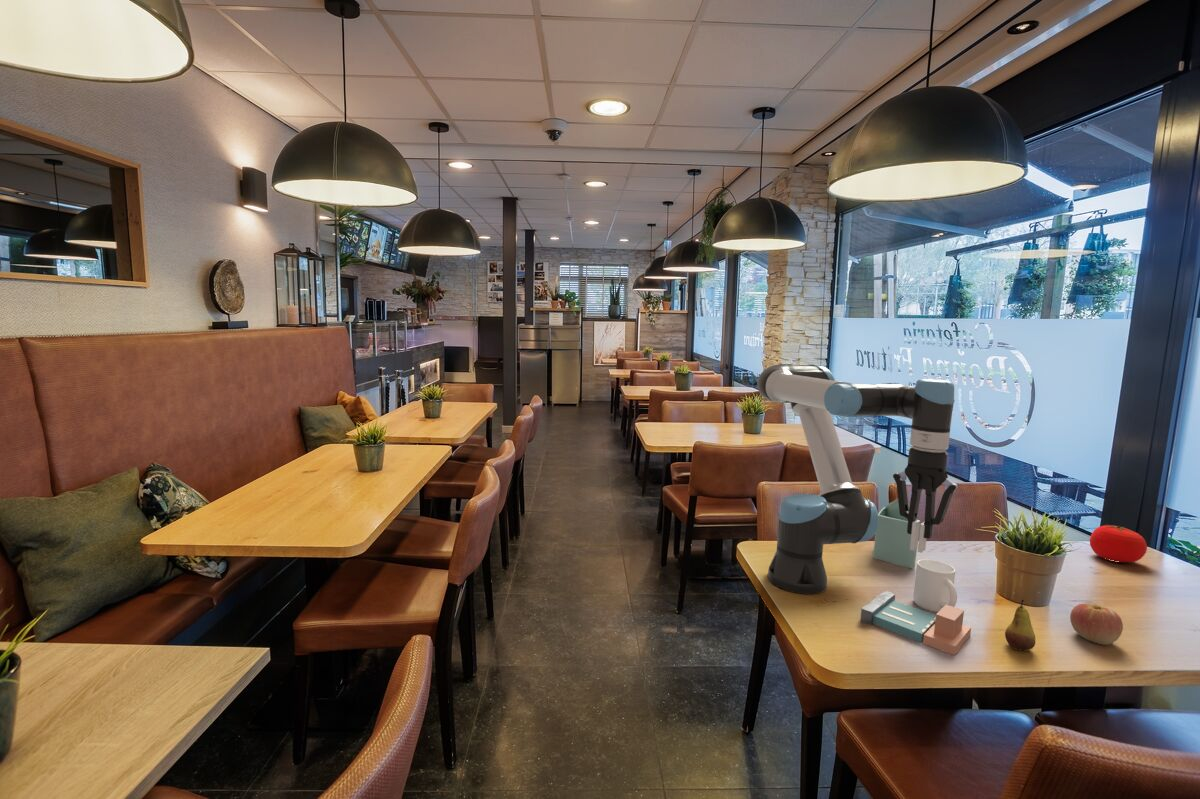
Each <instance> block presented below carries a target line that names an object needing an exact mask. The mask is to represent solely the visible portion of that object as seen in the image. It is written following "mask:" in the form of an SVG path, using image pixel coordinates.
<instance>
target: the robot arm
mask: <svg viewBox="0 0 1200 799" xmlns="http://www.w3.org/2000/svg"><path fill="white" fill-rule="evenodd" d="M756 383H757V389H758V393H759V394H760V396H761V397H762V398H763V399H764V400H767V401H769V402H773V403H779V404H781V403H782V404H784V403H785V404H790V407H791V410H792V413H793V414H795V415H798V416H799V418H800V422H801V425H802V426H801V427H802V429H803V430H802V431H803V433H804V437H805V440H806V443H807V446H808V450H809V455H810V457H811V461H812V465H813V468H814V473H815V475H816V478H817V482H818V486H819V489H820V492H819V493H818V494H813V493H805V492H804V493H795V494H790V495H788V496H785V497H784V498H783V499H782V501H781V502H780V505H779V511H778V527H777V536H776V537H777V539H776V550H775V552H774V554H773V558H772V560H771V562H770V564H769V566H768V570H767V579H768V581H769V582H770V583H771V584H773V585H774V586H776V587H777V588H779V589H781V590H784V591H787V592H791V593H795V594H801V595H802V594H804V595H813V594H820V593H822V592H825V591H826V589H827V587H828V576H827V572H826V568H825V564H824V560H823V552H824V551H823V550H824V545H837V544H858V543H862V542H864V543H865V542H867V541H870V540H871V539H872V538H873V537H875V533H876V529H877V528H878V523H879V517H878V513H879V511H878V509H877V506H876V505H875V503H874V502H873V501H871V500H870V499H868V498H866V497H863V493H862V490H861V488H859V487H858V486H856V485H855V484H854V483H853V480H852V478H851V475H850V471H849V468H848V465H847V461H846V459H845V455H844V452H843V449H842V447H841V442H840V440H839V437H838V433H837V430H836V427H835V423H834V420H833V417H832V415H833V416H839V417H853V416H854V417H856V416H857V417H859V416H861V417H863V416H864V417H866V416H870V417H872V416H873V417H874V416H875V417H893V416H894V417H900V418H901V417H902V418H907V419H911V420H912V421H911V428H910V436H909V437H910V439H909V445H910V446H911V447H909V449H908V456H907V457H908V458H907V465H906V467H905V468H904V471H900V472H896V473H893V475H892V477H893V479H894V482H895V483H896V489H897V490H896V493H897V498H898V503H899V512H900V515H901V516H904V517H906V518H907V519H908V526H907V533H908V534H911V542H910V550H915V549H916V548H917V553H923V552H924V551H926V548H927V547H926V546H927V540H929V539H931V537H933V536H932V535H933V529H934V528H933V526H934V525H937V526H939V525H940V524H942V523H943V522H944V520H945V517H946V514H947V512H948V508H949V506H950V503H951V500H952V498H953V494H954V493H955V492H956V491H957V489H958V488H960V485H959V484H958V483H956V482H953V481H952V480H951V479H949V478H948V477H949V476H948V473H947V463H948V452H947V450H948V449H949V446H950V437H951V426H952V425H951V424H952V417H953V410H954V404H955V383H953V382H952V381H950V380H940V379H929V378H927V379H926V378H925V379H924V378H923V379H922V378H921V379H918V380H916V383H915V386H912V385H909V384H908V385H907V384H900V383H899V382H898V383H896V382H883V383H869V384H868V383H854V382H844V381H838V380H836V378H835V377H834V375H833V372H831V371H830V369H828V368H827V367H825V366H823V365H817V364H812V363H811V364H783V363H782V364H773V365H771V366H768V367H767V368H765V369H763V370H762V372H761V373H760V374H759V375H758V379H757V382H756ZM907 479H908V481H909V482H910V484H911V494H910V501H909V500H908V490H907V483H906V480H907ZM943 484H944V486H943V489H944V492H943V494H942V495H941V496H942V497H941V500H940V501H939V506H938V509H937V511H936V512H935V509H936V508H935V507H936V494H937V489H938V488H939V487H941V485H943ZM923 490H925V491H924V492H925V494H924V495H925V505H924V506H925V508H924V522H921V520H919V519H917V518H918V517H919V516H918V512H919V508H920V507H919V506H920V503H921V495H922V491H923ZM908 504H909V506H910V507H909V508H908ZM935 513H936V514H935ZM916 519H917V520H916Z"/></svg>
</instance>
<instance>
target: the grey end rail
mask: <svg viewBox="0 0 1200 799" xmlns="http://www.w3.org/2000/svg"><path fill="white" fill-rule="evenodd" d="M893 600H894V601H896V593H893V592H890V591H888V590H884V591H883V592H882V593H880V594H878V595H877V596H876V597H874V599H872V600H871V601H869V602H868V603H867V604H865V605H864V606H863V607H861V612H860V618H859V619H860V620H859V622H861V623H864V624H865V625H869V626H872V625H874V624H873V616H874V615H875V614H876V613H878V612H879V611H880V610H881V609H883V608H884V607H885V606H886V605H888V604H889V603H890V602H891V601H893Z"/></svg>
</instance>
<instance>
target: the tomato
mask: <svg viewBox="0 0 1200 799" xmlns="http://www.w3.org/2000/svg"><path fill="white" fill-rule="evenodd" d="M1089 536H1090V537H1089V546H1090V547H1091V549H1092V551H1093V552H1094V554H1096V555H1097V556H1098V557H1100V556H1101V557H1100V558H1102V557H1103V558H1102V559H1104V558H1106V559H1110V560H1114V561H1119V562H1130V563H1135V562H1138V561H1139V560H1141V559H1143V557H1144V556H1145V554H1146V553H1147V550H1148V545H1147V542H1146V540H1145V538H1144V536H1142V535H1141V534H1139V533H1138V532H1136V531H1133V530H1131V529H1128V528H1125V526H1120V525H1110V524H1105V525H1101V526H1098V527H1096V528H1095V529H1094V530H1093V531H1092V533H1091V535H1089ZM1106 559H1105V560H1106Z"/></svg>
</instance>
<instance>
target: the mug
mask: <svg viewBox="0 0 1200 799" xmlns="http://www.w3.org/2000/svg"><path fill="white" fill-rule="evenodd" d="M955 577H956V569H955V567H954V566H952V565H950V564H949V563H946V562H942V561H939V560H934V559H919V560H917V561H916V567H915V578H914V588H913V602H914V604H916V605H917V607H920V608H921V609H924V610H925V611H930V612H932V613H933V612H935V613H938V612H939V611H940V610H941V609H942V608H943V607H944V606H945V605H949V606H952V607H956V605H957V601H958V593H957V589H956V586H955Z"/></svg>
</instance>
